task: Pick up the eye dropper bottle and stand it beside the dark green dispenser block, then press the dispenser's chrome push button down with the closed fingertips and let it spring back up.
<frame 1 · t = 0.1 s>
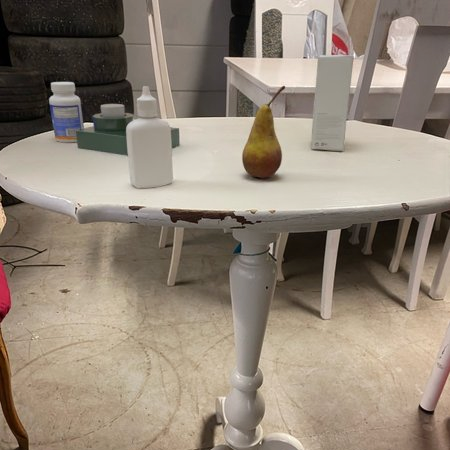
eye dropper bottle: (152, 185, 63), on the table
fruit: (260, 177, 67), on the table
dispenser: (129, 146, 83), on the table
pill bottle: (70, 141, 87), on the table
cosmetic box: (326, 147, 85), on the table
pump button: (113, 111, 81), point 6 cm above the table, slide at 0.1 cm
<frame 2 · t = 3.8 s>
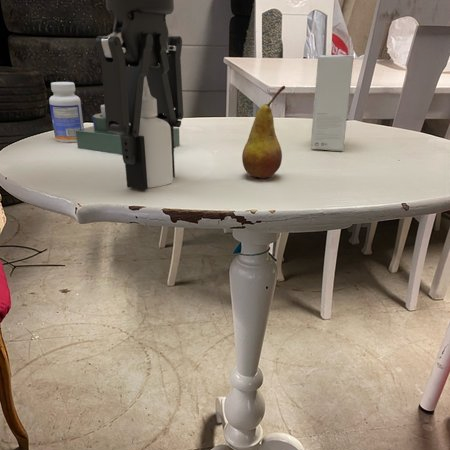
hand: (151, 181, 63), 0 cm above the table, tool pointing down, fingers closed on eye dropper bottle, 6 cm apart
eye dropper bottle: (152, 185, 63), on the table, touching gripper
everything else where it was.
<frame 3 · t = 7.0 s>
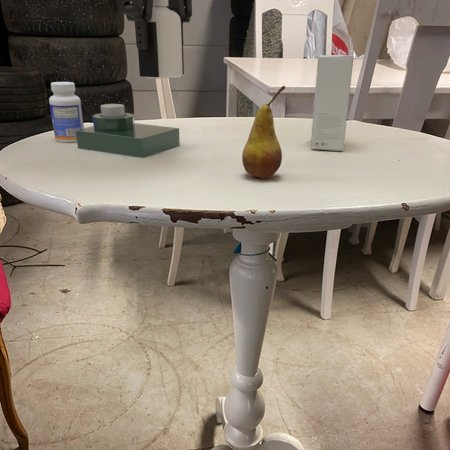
hand: (162, 74, 67), 12 cm above the table, tool pointing down, fingers closed on eye dropper bottle, 6 cm apart
eye dropper bottle: (162, 78, 67), point 12 cm above the table, touching gripper
everything else where it was.
when the fingers open (0 cm above the table, at t = 10.0 s): eye dropper bottle stays where it is, on the table.
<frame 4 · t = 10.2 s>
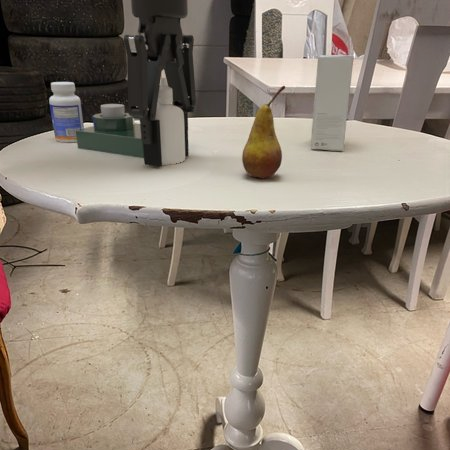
hand: (167, 159, 73), 0 cm above the table, tool pointing down, fingers open, 7 cm apart
eye dropper bottle: (167, 163, 73), on the table
everything else where it was.
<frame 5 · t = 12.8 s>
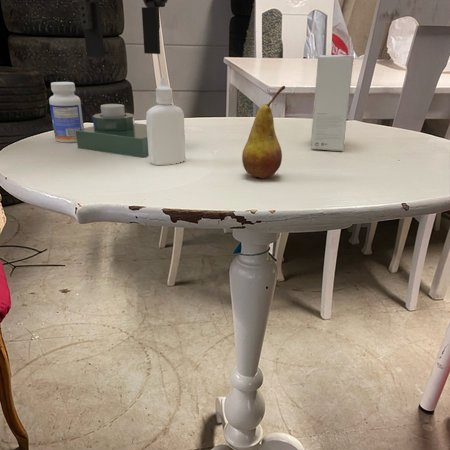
hand: (126, 55, 72), 15 cm above the table, tool pointing down, fingers open, 13 cm apart
nothing on the table moved.
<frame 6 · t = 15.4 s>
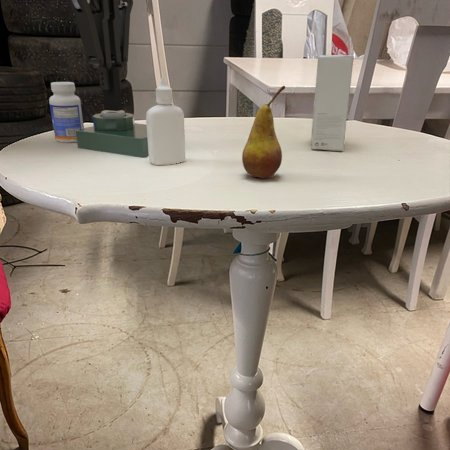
hand: (113, 109, 81), 6 cm above the table, tool pointing down, fingers closed
pump button: (113, 117, 82), point 5 cm above the table, slide at -0.9 cm, touching gripper
everything else where it was.
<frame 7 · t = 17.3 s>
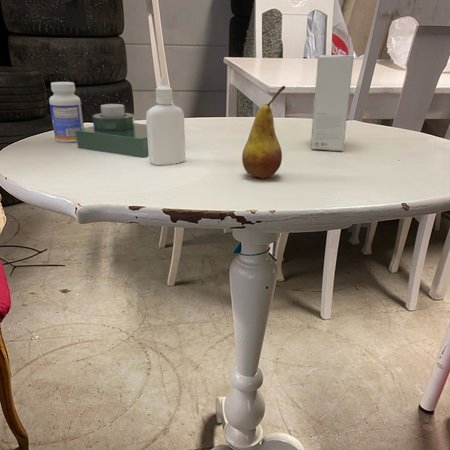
hand: (77, 27, 74), 18 cm above the table, tool pointing down, fingers closed
pump button: (113, 111, 81), point 6 cm above the table, slide at 0.1 cm
everything else where it was.
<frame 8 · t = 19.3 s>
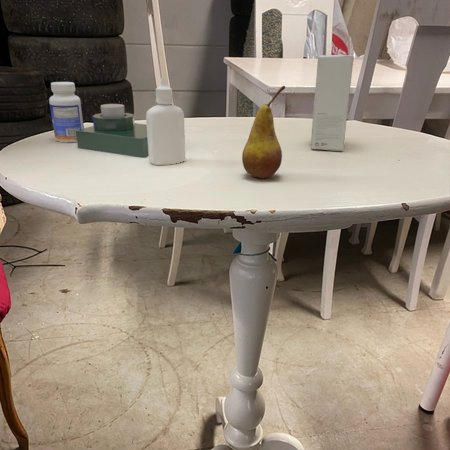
nothing on the table moved.
at the end: eye dropper bottle inside the target area on the table beside the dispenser (0.0 cm from its centre), on the table; pump button pushed in 1.2 cm at the most during the clip, back to where it started at the end; pump button slide at 0.1 cm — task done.
